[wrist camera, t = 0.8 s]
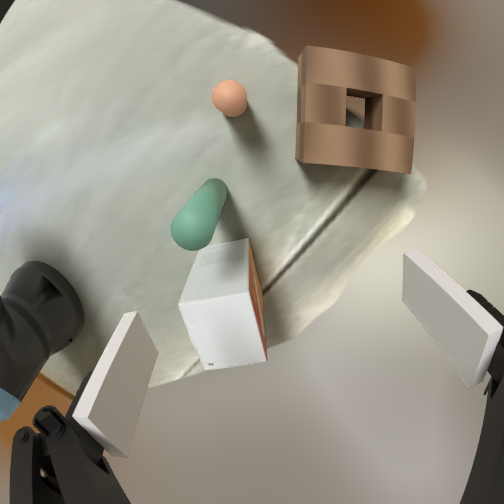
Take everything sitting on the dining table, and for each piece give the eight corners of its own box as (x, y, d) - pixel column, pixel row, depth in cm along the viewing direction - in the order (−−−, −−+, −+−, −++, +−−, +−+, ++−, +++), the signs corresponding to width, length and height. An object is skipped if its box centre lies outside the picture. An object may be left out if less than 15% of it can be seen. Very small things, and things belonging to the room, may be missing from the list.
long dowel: (201, 204, 33) (172, 250, 21) (201, 178, 32) (169, 209, 19) (227, 204, 33) (213, 250, 21) (227, 178, 32) (212, 209, 19)
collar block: (295, 158, 31) (303, 162, 27) (298, 57, 27) (306, 45, 22) (391, 167, 32) (410, 174, 27) (394, 74, 27) (415, 68, 22)
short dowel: (219, 117, 30) (211, 112, 23) (219, 91, 28) (212, 80, 22) (246, 117, 30) (246, 112, 23) (247, 91, 29) (246, 80, 22)
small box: (263, 293, 38) (268, 363, 26) (215, 301, 39) (203, 372, 27) (249, 235, 35) (250, 291, 23) (198, 246, 36) (174, 304, 23)
